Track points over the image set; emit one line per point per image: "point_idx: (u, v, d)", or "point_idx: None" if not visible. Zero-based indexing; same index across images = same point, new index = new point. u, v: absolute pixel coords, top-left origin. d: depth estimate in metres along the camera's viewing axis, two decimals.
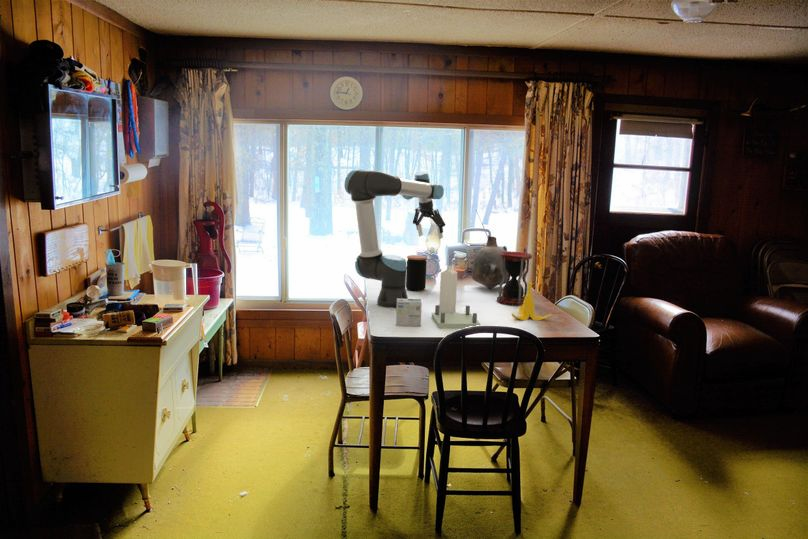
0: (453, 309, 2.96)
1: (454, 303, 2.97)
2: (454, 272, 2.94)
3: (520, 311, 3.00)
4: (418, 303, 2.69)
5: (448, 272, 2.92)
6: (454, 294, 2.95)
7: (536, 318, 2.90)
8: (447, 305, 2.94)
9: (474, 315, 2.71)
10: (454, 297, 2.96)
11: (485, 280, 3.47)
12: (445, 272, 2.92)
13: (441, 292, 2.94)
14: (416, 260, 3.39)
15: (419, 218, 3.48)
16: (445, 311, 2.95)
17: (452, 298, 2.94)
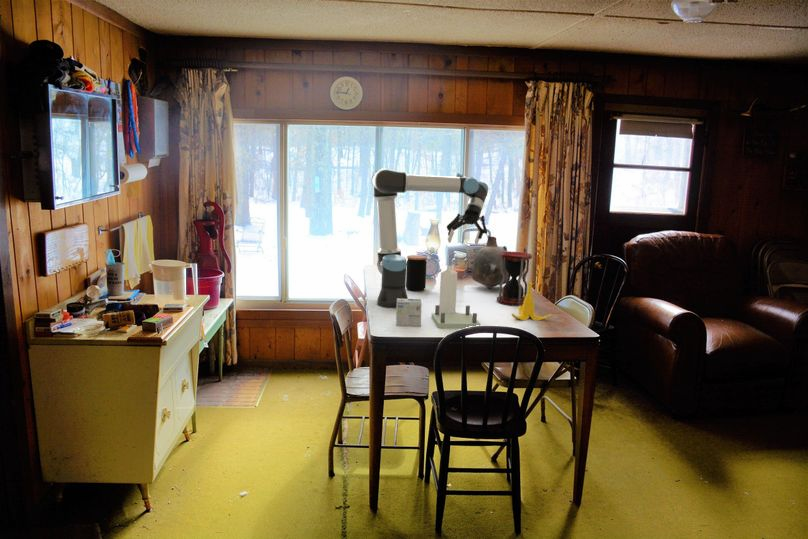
0: (453, 309, 2.96)
1: (454, 303, 2.97)
2: (454, 272, 2.94)
3: (520, 311, 3.00)
4: (418, 303, 2.69)
5: (448, 272, 2.92)
6: (454, 294, 2.95)
7: (536, 318, 2.90)
8: (447, 305, 2.94)
9: (474, 315, 2.71)
10: (454, 297, 2.96)
11: (485, 280, 3.47)
12: (445, 272, 2.92)
13: (441, 292, 2.94)
14: (416, 260, 3.39)
15: (458, 222, 3.11)
16: (445, 311, 2.95)
17: (452, 298, 2.94)
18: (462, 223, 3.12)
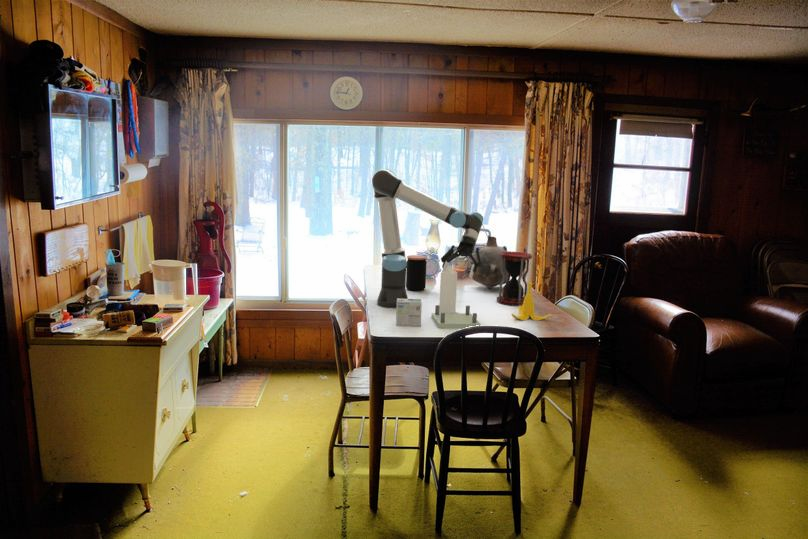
0: (453, 309, 2.96)
1: (454, 303, 2.97)
2: (454, 272, 2.94)
3: (520, 311, 3.00)
4: (418, 303, 2.69)
5: (448, 272, 2.92)
6: (454, 294, 2.95)
7: (536, 318, 2.90)
8: (447, 305, 2.94)
9: (474, 315, 2.71)
10: (454, 297, 2.96)
11: (485, 280, 3.47)
12: (445, 272, 2.92)
13: (441, 292, 2.94)
14: (416, 260, 3.39)
15: (452, 254, 3.07)
16: (445, 311, 2.95)
17: (452, 298, 2.94)
18: (456, 255, 3.07)
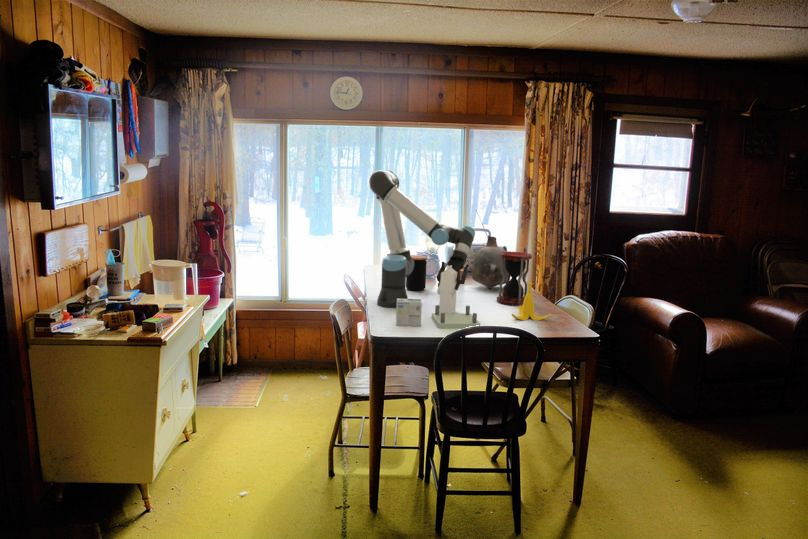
0: (453, 309, 2.96)
1: (454, 303, 2.97)
2: (454, 272, 2.94)
3: (520, 311, 3.00)
4: (418, 303, 2.69)
5: (448, 272, 2.92)
6: (454, 294, 2.95)
7: (536, 318, 2.90)
8: (447, 305, 2.94)
9: (474, 315, 2.71)
10: (454, 297, 2.96)
11: (485, 280, 3.47)
12: (445, 272, 2.92)
13: (441, 292, 2.94)
14: (416, 260, 3.39)
15: None
16: (445, 311, 2.95)
17: (452, 298, 2.94)
18: None
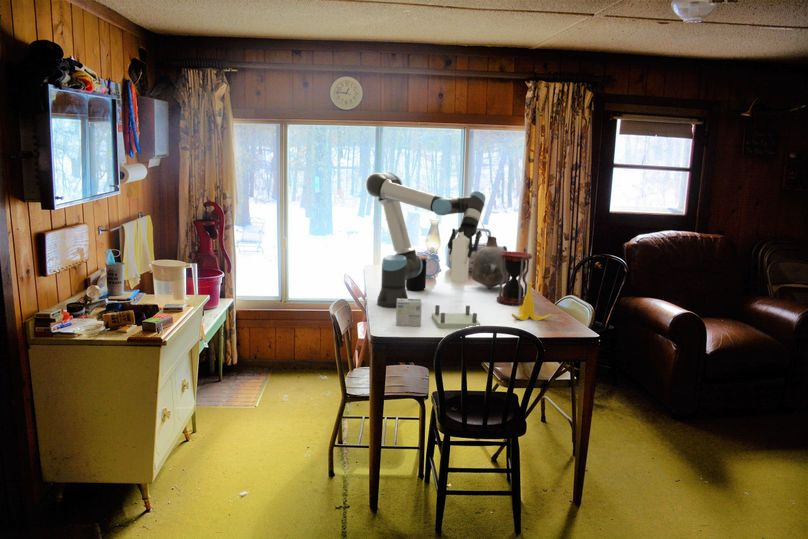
0: (466, 277, 2.84)
1: (467, 271, 2.84)
2: (466, 239, 2.81)
3: (520, 311, 3.00)
4: (418, 303, 2.69)
5: (460, 239, 2.79)
6: None
7: (536, 318, 2.90)
8: (460, 273, 2.81)
9: (474, 315, 2.71)
10: (467, 265, 2.83)
11: (485, 280, 3.47)
12: (457, 239, 2.79)
13: (453, 260, 2.81)
14: None
15: None
16: (458, 280, 2.82)
17: (465, 266, 2.81)
18: None
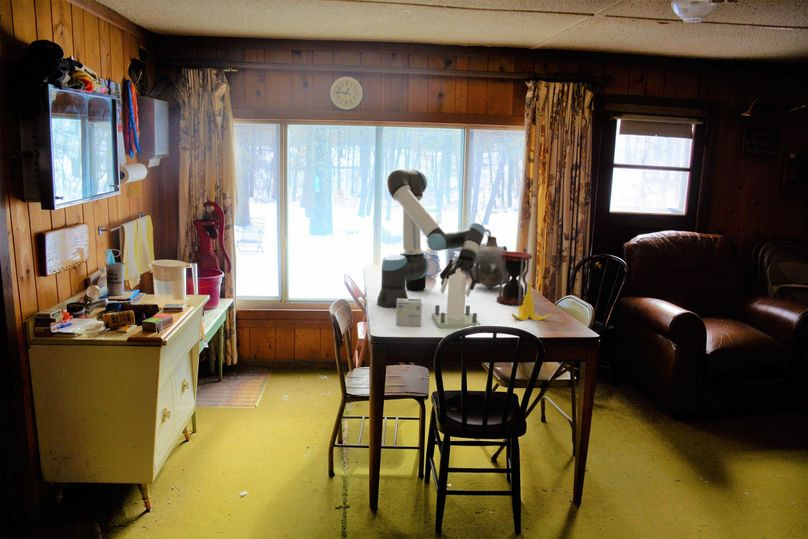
0: (462, 315, 2.78)
1: (463, 308, 2.78)
2: (463, 275, 2.75)
3: (520, 311, 3.00)
4: (418, 303, 2.69)
5: (457, 275, 2.73)
6: (463, 299, 2.76)
7: (536, 318, 2.90)
8: (456, 311, 2.75)
9: (474, 315, 2.71)
10: (463, 302, 2.77)
11: (485, 280, 3.47)
12: (453, 275, 2.73)
13: (449, 297, 2.75)
14: None
15: (451, 269, 2.81)
16: (453, 317, 2.76)
17: (461, 303, 2.75)
18: None
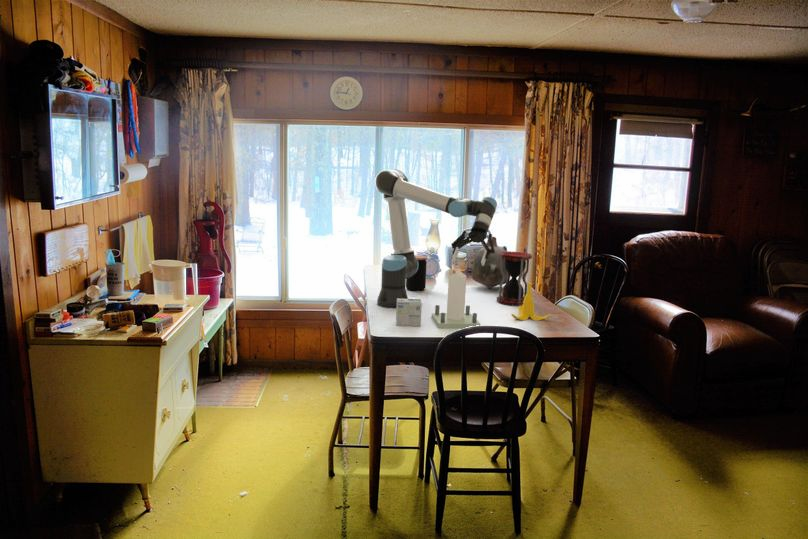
0: (462, 315, 2.78)
1: (463, 308, 2.78)
2: (463, 275, 2.75)
3: (520, 311, 3.00)
4: (418, 303, 2.69)
5: (457, 275, 2.73)
6: (463, 299, 2.76)
7: (536, 318, 2.90)
8: (456, 311, 2.75)
9: (474, 315, 2.71)
10: (463, 302, 2.77)
11: (485, 280, 3.47)
12: (453, 275, 2.73)
13: (449, 297, 2.75)
14: None
15: (464, 240, 2.91)
16: (453, 317, 2.76)
17: (461, 303, 2.75)
18: (468, 241, 2.91)
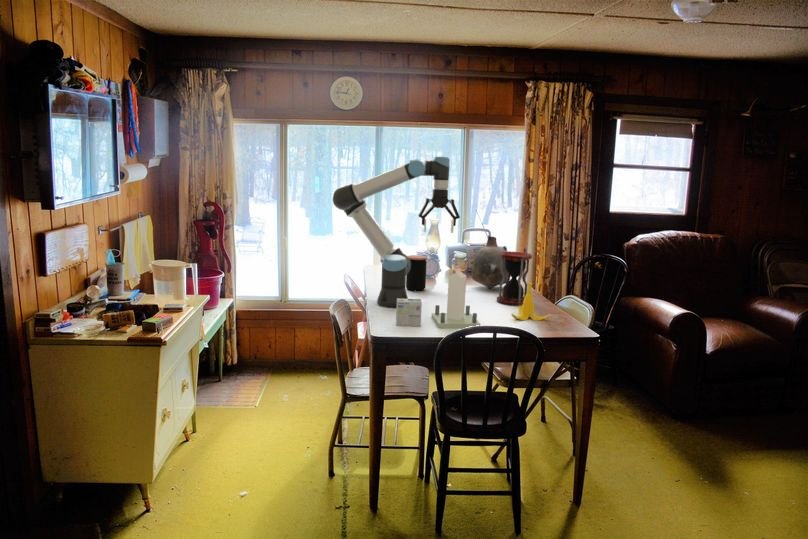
0: (462, 315, 2.78)
1: (463, 308, 2.78)
2: (463, 275, 2.75)
3: (520, 311, 3.00)
4: (418, 303, 2.69)
5: (457, 275, 2.73)
6: (463, 299, 2.76)
7: (536, 318, 2.90)
8: (456, 311, 2.75)
9: (474, 315, 2.71)
10: (463, 302, 2.77)
11: (485, 280, 3.47)
12: (453, 275, 2.73)
13: (449, 297, 2.75)
14: (416, 260, 3.39)
15: (429, 210, 3.10)
16: (453, 317, 2.76)
17: (461, 303, 2.75)
18: (432, 208, 3.12)
